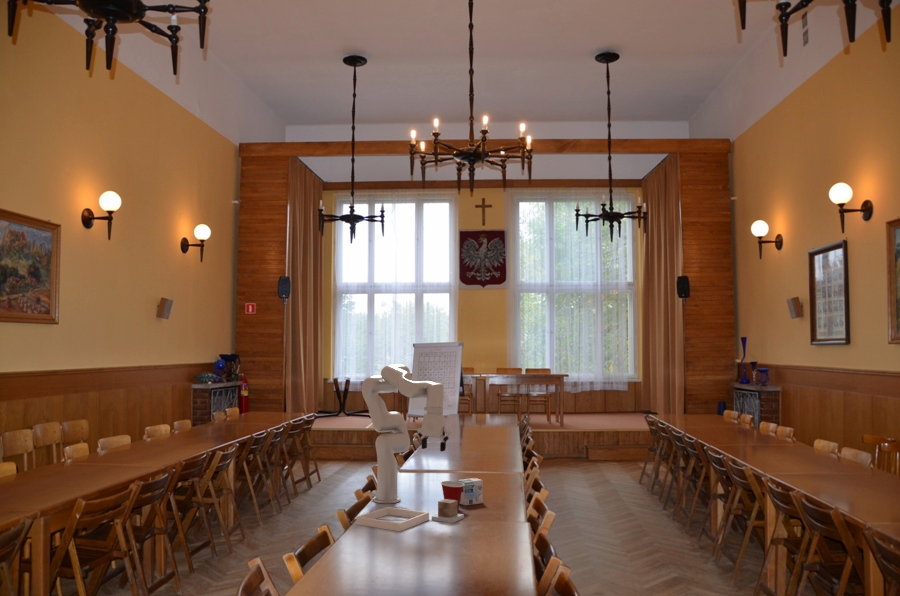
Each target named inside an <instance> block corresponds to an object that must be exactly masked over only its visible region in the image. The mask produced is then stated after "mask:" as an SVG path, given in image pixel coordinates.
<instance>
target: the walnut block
mask: <svg viewBox="0 0 900 596" xmlns="http://www.w3.org/2000/svg"><path fill="white" fill-rule="evenodd" d="M437 514H438V516H442V517H449V518H451V517H453V516H456V515H457V514H458V510H457V500H450V499H444V498H443V499H440V500H439V501H437Z"/></svg>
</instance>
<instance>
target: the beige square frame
mask: <svg viewBox="0 0 900 596" xmlns="http://www.w3.org/2000/svg"><path fill="white" fill-rule="evenodd" d="M387 515H390V516H395V517H396V516H397V517H403V518H409V519H406V520H404V521H401V522H397V521H396V522H395V521H390V520H382V519H378V518H381V517H384V516H387ZM429 520H430V512H427V511H420V510H413V509H407V508H400V507H399V508H398V507H391V506H386V507H383V508H380V509H377V510H374V511H373V510H372V511H371V512H370V511H369V512H368V513H365V514H361V515H359V516H356V525H358V526H366V527H371V528H377V529H384V530H390V531H396V532H401V531H404V530H407V529H409V528H412V527H414V526H416V525H417V526H418V525H420V524H422V523H424V522H427V521H429Z"/></svg>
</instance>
